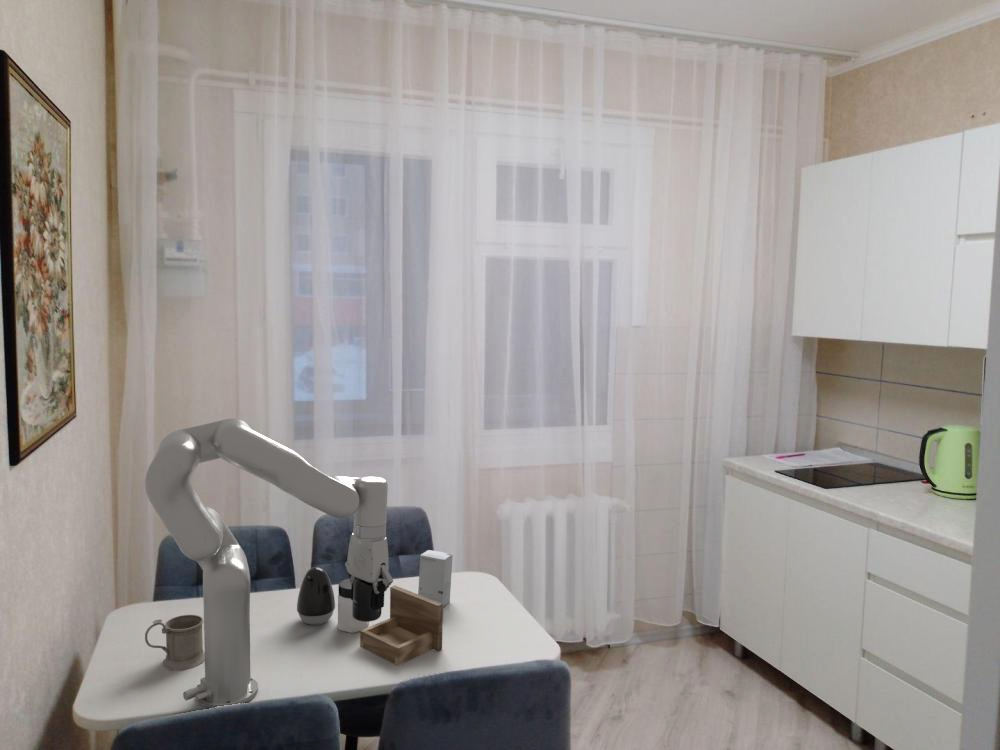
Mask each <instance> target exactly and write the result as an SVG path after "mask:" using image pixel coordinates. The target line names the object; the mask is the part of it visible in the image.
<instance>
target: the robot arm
mask: <svg viewBox="0 0 1000 750" xmlns="http://www.w3.org/2000/svg"><path fill="white" fill-rule="evenodd" d="M218 459H222V460H223V461H225V462H227V463H228V464H229V465H233V466H234V467H236V468H239V469H241V470H242V471H245V472H247V473H250V474H251V475H254V476H256V477H258V478H259V479H262V480H264V481H265V482H268V483H269V484H271V485H274V486H275V487H276V488H278V489H280V490H281V491H283V492H285V493H287V494H289V495H291V496H292V497H294V498H296V499H297V500H299V501H301V502H303V503H304V504H306V505H308V506H310V507H312V508H314V509H316V510H318V511H320V512H322V513H325V514H326V515H329V516H331V517H333V518H337V519H345V518H346V519H347V518H349V517H351V516H353V532H352V533H351V535H350V539H349V543H348V544H349V545H348V550H347V552H348V553H347V561H346V562H345V563H344V565H345V568H346V571H347V574H348V577H349V579H350V583H351V600H353V584H354V581H355V579H356V578H359V579H361V580H364V581H366V582H369V583H372V585H373V588H374V592H375V593H373V594H372V610H377V609H379V608H384V607H385V592H387V590H388V588H390V586H391V585H392V583H393V582H394V579H393V576H391V573H390V571H389V548H388V547H389V546H388V538H387V516H388V515H387V514H388V491H389V490H388V489H389V488H388V482H387V480H386V479H385V478H383V477H380V476H371V475H370V476H362V477H354V476H353V477H352V476H351V477H350V476H343V475H334V476H329V475H328V474H325V473H324V472H322V471H321V470H319V469H317V468H316V467H314V466H312V464H310V463H309V462H308V461H307V460H306V459H304V457H302V456H301V455H300V454H299V453H297V451H296V452H295V450H293V449H291V448H289V447H287V446H285V445H284V444H281V443H278V442H277V441H275V440H273V439H271V438H269V437H267V436H265V435H263V434H261V433H259V432H257V431H256V430H254V429H252V428H251V427H250V426H249V425H248V423H247V422H246V421H244V420H242V419H239V418H227V419H226V418H225V419H221V420H218V421H212V422H209V423H205V424H200V425H195V426H191V427H186V428H183V429H178V430H175V431H173V432H170V433H168V434H167V435H166V436H165V437H163V439H161V441H160V443H159V446H158V448H157V451H156V454H155V455H154V458H153V459H152V461H151V463H150V464H149V466H148V469H147V471H146V474H145V479H144V480H145V481H144V486H145V487H144V488H145V492H146V493H145V494H146V495H147V498H148V500H149V502H150V504H151V506H152V507H153V509H154V510H155V512H156V513H157V515H158V517H159V518H160V520H161V521H162V524H163V525H164V527H165V528H166V530H167V532H169V534H170V536H171V537H172V539H173V540H174V541H175V544H176V545H177V546H178V548H179V550H180V552H181V553H183V555H184V556H185V557H187V558H188V559H191V560H192V561H196V562H197V563H198V565H199V566H200V568H201V570H202V598H203V632H204V635H203V637H204V641H203V645H204V653H205V661H204V677H202V678H200V683H199V684H197V685H196V687H194V688H191V689H187V690H185V691H183V693H182V695H183V699H184V701H189V700H191V699H195V701H196V702H198V703H200V705H202V706H204V707H205V708H210V707H217V706H224V705H232V704H238V703H243V704H246V703H247V702H249V701H251V700H252V699H254V698H255V696H256V695H257V693H258V691H259V684H258V681H256V679H254V678H252V677H251V617H250V616H251V614H250V613H251V612H250V611H251V609H250V607H251V606H250V605H251V604H250V603H251V601H250V600H251V599H250V598H251V573H250V568H249V564H248V559H247V556H246V553H245V551H244V550H243V548H242V547H241V545H240V544H239V542H238V540H237V539H236V536H234V534H233V533H232V531H231V530H230V528H229V527H228V525H227V523H226V522H225V520H224V519H223V517H222V516H221V514H219V513H218V512H217V510H216V509H214V508H212V507H209V506H205V504H204V503H203V502H202V501H201V499H200V497H199V495H198V493H197V492H196V491H195V489H194V488H193V487H192V485H191V476H192V475H193V473H194V472H195V471H196V469H197V467H198V466H199V464H201V463H207V462H210V461H214V460H218ZM378 578H379V579H378ZM379 581H380V586H379V587H378V584H377V582H379ZM245 702H246V703H245ZM210 709H211V708H210Z"/></svg>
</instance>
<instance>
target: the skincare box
mask: <svg viewBox="0 0 1000 750" xmlns="http://www.w3.org/2000/svg"><path fill="white" fill-rule="evenodd" d="M453 556H454V555H453V554H452V553H447V552H443V551H439V550H438V551H437V550H432V549H431V550H430V549H428V550H426V551H425V552H423V553H421V554H420V559H419V573H418V574H419V575H418V591H417V594H418V595H421V596H423V597H426V598H429V599H431V600H434V601H436V602H439V603H441V604H443V608H445V606H447V605H448V604H449V603H450V601H451V589H452V585H451V584H452V571H453V569H452V568H453Z"/></svg>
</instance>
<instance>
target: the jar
mask: <svg viewBox="0 0 1000 750" xmlns="http://www.w3.org/2000/svg"><path fill="white" fill-rule="evenodd" d="M352 608H353V600H351V583H350V578H347V579H343V580H341V581H340V582H339V583H338V595H337V630H339V631H342V632H346V633H350V634H354V633H358V632H359V633H360V630H363V629H365V628H368V627H369V624H370V622H363V621H358V620H356V619H355V618H354V617H353V615H352Z"/></svg>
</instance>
